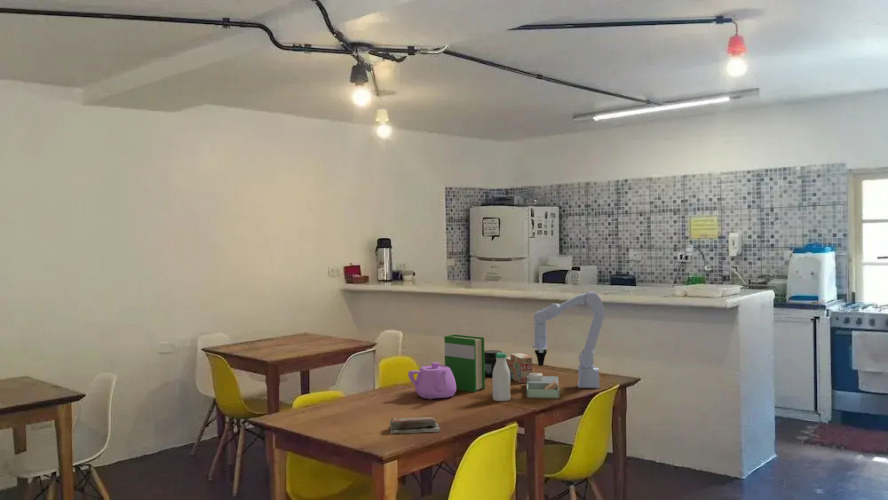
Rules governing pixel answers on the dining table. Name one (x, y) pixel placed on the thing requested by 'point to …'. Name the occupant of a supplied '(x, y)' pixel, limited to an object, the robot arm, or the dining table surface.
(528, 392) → the tray
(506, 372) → the milk bottle
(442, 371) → the teapot
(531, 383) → the board
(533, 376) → the cream tile
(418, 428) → the packaged product
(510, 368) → the printed cardboard box
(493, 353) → the supplement container
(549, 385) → the terracotta tile
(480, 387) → the hardback book
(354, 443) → the dining table surface
